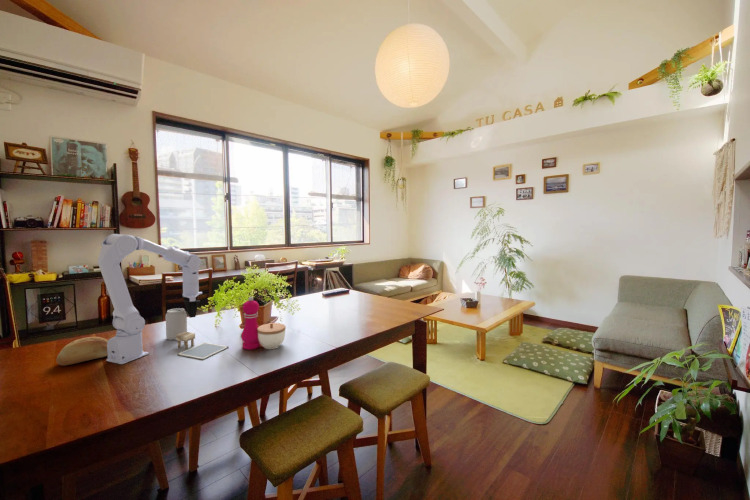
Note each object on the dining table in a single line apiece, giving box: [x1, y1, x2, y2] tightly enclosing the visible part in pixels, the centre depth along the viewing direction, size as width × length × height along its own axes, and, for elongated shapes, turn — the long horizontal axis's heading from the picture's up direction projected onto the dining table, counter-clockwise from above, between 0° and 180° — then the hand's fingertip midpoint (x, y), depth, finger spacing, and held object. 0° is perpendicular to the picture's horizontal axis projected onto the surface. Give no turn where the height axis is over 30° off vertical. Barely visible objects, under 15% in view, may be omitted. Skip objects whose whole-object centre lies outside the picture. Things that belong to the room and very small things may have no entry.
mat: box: [177, 342, 229, 361], centre depth 119 cm, size 12×12×1 cm
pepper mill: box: [240, 296, 261, 351], centre depth 124 cm, size 7×7×20 cm
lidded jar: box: [257, 322, 286, 350], centre depth 125 cm, size 11×11×9 cm
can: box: [164, 307, 188, 341], centre depth 132 cm, size 8×8×12 cm
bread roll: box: [55, 336, 109, 366], centre depth 110 cm, size 10×15×8 cm, turn 136°
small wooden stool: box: [175, 331, 196, 350], centre depth 123 cm, size 5×4×5 cm
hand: (191, 314), depth 132 cm, fingers open, 7 cm apart
